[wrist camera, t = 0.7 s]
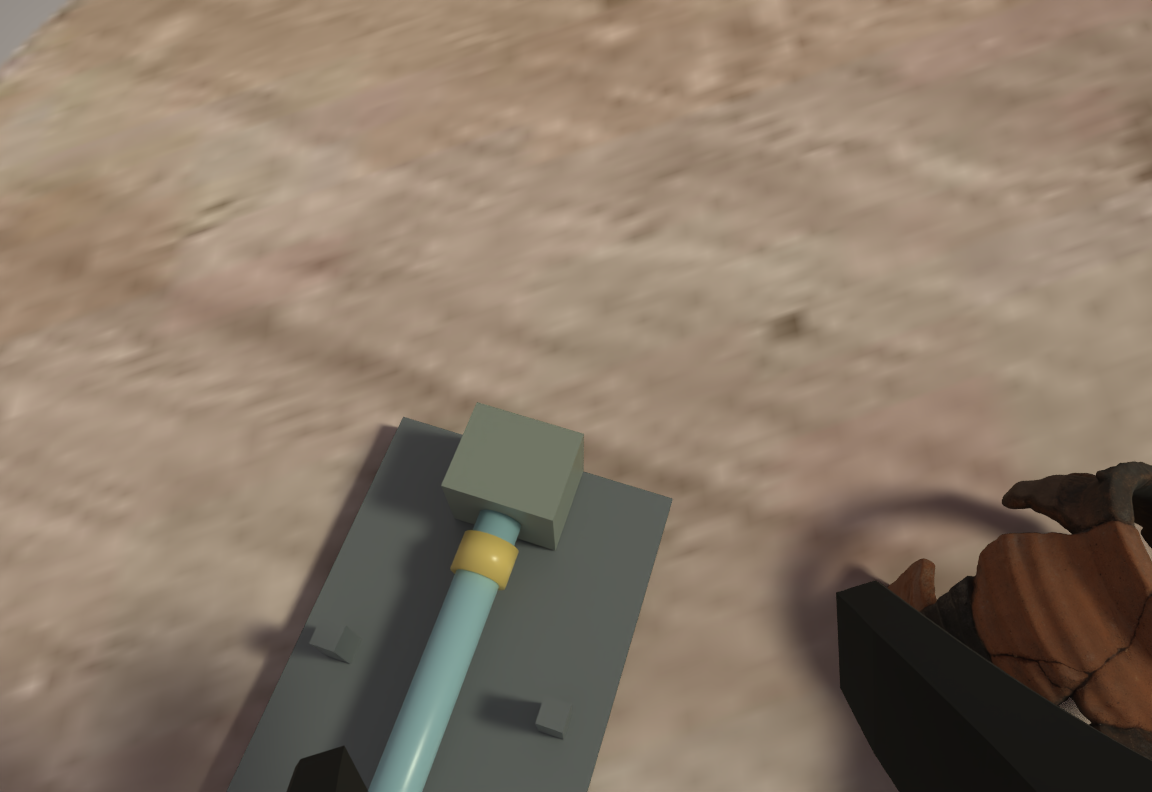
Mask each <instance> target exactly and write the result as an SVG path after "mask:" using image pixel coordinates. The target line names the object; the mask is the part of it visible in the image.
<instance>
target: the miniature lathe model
mask: <svg viewBox="0 0 1152 792" xmlns="http://www.w3.org/2000/svg"><path fill="white" fill-rule="evenodd" d="M583 470H584V434H582V433H579V432H576V431H572V430H569V429H566V428H562V427H559V426H555V425H552V424H549V423H545V422H542V421H539V420H535V419H532V418H528V417H525V416H522V415H518V414H515V413H512V412H508V411H505V410H502V409H498V408H495V407H491V406H488V405H485V404H481V403H478V402H477V403H476V406H475V408H474V410H473V413H472V415H471V417H470V420H469V422H468V424H467V427H466V429H465V431H464V434H463V435H461V434H458V433H455V432H452V431H448V430H445V429H442V428H438V427H435V426H432V425H429V424H425V423H422V422H419V421H415V420H412V419H409V418H405V417H403V418H402V421H401V423H400V425H399V427H398V429H397V431H396V433H395V435H394V437H393V440H392V442H391V444H390V446H389V448H388V450H387V452H386V454H385V457H384V459H383V461H382V463H381V465H380V467H379V469H378V471H377V474H376V476H375V478H374V480H373V482H372V484H371V486H370V488H369V490H368V493H367V495H366V497H365V499H364V501H363V503H362V505H361V507H360V510H359V512H358V514H357V516H356V518H355V520H354V522H353V524H352V527H351V529H350V531H349V533H348V535H347V537H346V539H345V541H344V543H343V546H342V548H341V550H340V552H339V554H338V556H337V558H336V560H335V563H334V565H333V567H332V569H331V571H330V573H329V575H328V577H327V580H326V582H325V584H324V586H323V588H322V590H321V592H320V594H319V596H318V599H317V601H316V603H315V605H314V607H313V609H312V611H311V613H310V616H309V618H308V620H307V622H306V624H305V626H304V628H303V630H302V632H301V635H300V637H299V639H298V641H297V643H296V645H295V647H294V649H293V652H292V654H291V656H290V658H289V660H288V662H287V664H286V666H285V669H284V671H283V673H282V675H281V677H280V679H279V681H278V683H277V685H276V688H275V690H274V692H273V694H272V696H271V698H270V700H269V702H268V705H267V707H266V709H265V711H264V713H263V715H262V717H261V719H260V722H259V724H258V726H257V728H256V730H255V732H254V734H253V736H252V738H251V741H250V743H249V745H248V747H247V749H246V751H245V753H244V755H243V758H242V760H241V762H240V764H239V766H238V768H237V770H236V772H235V775H234V777H233V779H232V781H231V783H230V785H229V787H228V789H227V791H226V792H286V791H287V789H288V786H289V783H290V780H291V777H292V775H293V772H294V769H295V766H296V765H297V763H298V762H299V760H300V759H302V758H305V757H308V756H312V755H315V754H318V753H321V752H325V751H328V750H331V749H334V748H337V747H341V746H345V748H346V749H347V751H348V753H349V755H350V757H351V759H352V761H353V763H354V765H355V767H356V769H357V770H358V772H359V774H360V776H361V778H362V780H363V782H364V784H365V786H366V788H367V790H368V792H587V791H588V788H589V784H590V781H591V777H592V774H593V770H594V767H595V764H596V760H597V757H598V753H599V750H600V746H601V743H602V740H603V736H604V733H605V729H606V726H607V722H608V719H609V716H610V712H611V709H612V705H613V702H614V698H615V695H616V692H617V688H618V685H619V681H620V678H621V674H622V671H623V668H624V664H625V661H626V657H627V654H628V650H629V647H630V644H631V640H632V637H633V633H634V630H635V626H636V623H637V620H638V616H639V613H640V609H641V606H642V602H643V599H644V596H645V592H646V589H647V585H648V582H649V578H650V575H651V572H652V568H653V565H654V561H655V558H656V554H657V551H658V548H659V544H660V541H661V537H662V534H663V530H664V527H665V524H666V520H667V517H668V513H669V510H670V506H671V503H672V498H669V497H665V496H662V495H659V494H656V493H652V492H649V491H646V490H642V489H639V488H636V487H633V486H629V485H626V484H623V483H619V482H616V481H613V480H610V479H606V478H603V477H600V476H596V475H593V474H590V473H587V472H583Z"/></svg>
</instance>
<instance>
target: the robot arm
mask: <svg viewBox="0 0 1152 792" xmlns="http://www.w3.org/2000/svg"><path fill="white" fill-rule="evenodd" d="M836 599H837V622H838V645H839V667H840V688H841V690H842V692H843V694H844V696H845V698H846V700H847V702H848V704H849V706H850V708H851V710H852V712H853V714H854V716H855V718H856V720H857V722H858V724H859V726H860V727H861V729H862V731H863V733H864V735H865V737H866V739H867V741H868V742H869V744H870V746H871V748H872V750H873V752H874V754H875V755H876V757H877V758H878V760H879V762H880V763H881V765H882V766H883V768H884V769H885V771H886V772H887V774H888V775H889V777H890V778H891V780H892V781H893V783H894V784H895V786H896V787H897V789H898V791H899V792H1152V760H1150V759H1148V758H1146V757H1144V756H1143V755H1141V754H1139V753H1137V752H1135V751H1133V750H1132V749H1130V748H1128V747H1126V746H1125V745H1123V744H1121V743H1119V742H1117V741H1116V740H1114V739H1112V738H1110V737H1109V736H1107V735H1105V734H1104V733H1102V732H1100V731H1098V730H1097V729H1095V728H1093V727H1092V726H1090V725H1088V724H1087V723H1085V722H1083V721H1082V720H1080V719H1078V718H1077V717H1075V716H1073V715H1072V714H1070V713H1069V712H1067V711H1065V710H1064V709H1062V708H1060V707H1059V706H1057V705H1055V704H1054V703H1052V702H1051V701H1049V700H1047V699H1046V698H1044V697H1043V696H1041V695H1040V694H1038V693H1036V692H1035V691H1033V690H1032V689H1030V688H1029V687H1027V686H1026V685H1024V684H1023V683H1021V682H1020V681H1018V680H1017V679H1015V678H1014V677H1012V676H1011V675H1009V674H1008V673H1006V672H1005V671H1003V670H1002V669H1000V668H999V667H997V666H996V665H994V664H993V663H991V662H990V661H988V660H987V659H985V658H984V657H982V656H981V655H979V654H978V653H976V652H975V651H974V650H972V649H971V648H969V647H968V646H966V645H965V644H963V643H962V642H961V641H959V640H958V639H956V638H955V637H954V636H952V635H951V634H949V633H948V632H947V631H945V630H944V629H942V628H941V627H940V626H938V625H937V624H936V623H934V622H933V621H931V620H930V619H929V618H927V617H926V616H925V615H923V614H922V613H920V612H919V611H918V610H916V609H915V608H914V607H912V606H911V605H910V604H908V603H907V602H906V601H904V600H903V599H902V598H900V597H899V596H897V595H896V594H895V593H893V592H892V591H891V590H889V589H888V588H887V587H885V586H884V585H883V584H881V583H879V582H877V581H872V582H869V583H866V584H863V585H859V586H856V587H853V588H850V589H847V590H843V591H840V592H837V593H836ZM286 792H368V790H367V788H366V786H365V784H364V782H363V780H362V778H361V776H360V774H359V772H358V770H357V769H356V767H355V765H354V763H353V761H352V759H351V757H350V755H349V753H348V751H347V749H346V748H345V746H341V747H337V748H334V749H331V750H328V751H325V752H321V753H318V754H315V755H312V756H308V757H305V758H302V759H300V760H299V762H298V763H297V765H296V766H295V769H294V772H293V775H292V777H291V780H290V783H289V786H288V789H287V791H286Z"/></svg>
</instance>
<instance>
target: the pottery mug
mask: <svg viewBox="0 0 1152 792" xmlns="http://www.w3.org/2000/svg"><path fill="white" fill-rule="evenodd" d="M1002 504H1003V505H1004V506H1005V507H1007V508H1010V509H1026V508H1031V509H1033V510H1034V511H1035V512H1038V513H1041V514H1044V515H1046V516H1048V517H1050V518H1051V519H1053V520H1055V521H1057V522H1058V523H1059V524H1060V525H1061V526H1063V527H1064V528H1065V529H1067V530H1068V531H1069V532H1070V533H1071V534H1073V535H1067V534H1062V533H1055V532H1051V533H1047V534H1041V533H1009V534H1002V535H1000V536H999V537H998V539H997V540H995V541H993V542H992V543H990V544H988V545H987V547H986V548H985V549H984V550H983V551H982V552H981V553H980V556H979V561H978V565H977V573H976V576H974V577H973V576H967V577H965V578H964V579H963V580H962V581H960V582H958V583H957V584H955V585H954V586H953V587H952V588H951V589H950V590H949V592H947V593H946V594H944V595H942V596H941V597H939V598H938V599H937V600H936V596H935V587H934V575H935V565H934V563H933V562H931V561H929V560H927V559H920V560H918V561H916V562H914V563H913V564H912V565H910V566H909V568H908V569H907V570H906V571H905V572H904V573H903V574H901V575H900V576H899V578H898V579H897V580H896V581H895V582H894V583H892V584H891V585H889V586H888V589H889V590H891V591H892V592H893V593H895V594H896V595H897V596H899V597H900V598H902V599H903V600H904V601H906V602H907V603H908V604H910V605H911V606H912V607H914V608H915V609H916V610H918V611H919V612H920V613H922V614H923V615H925V616H926V617H927V618H929V619H930V620H931V621H933V622H934V623H936V624H937V625H938V626H940V627H941V628H942V629H944V630H945V631H947V632H948V633H949V634H951V635H952V636H954V637H955V638H956V639H958V640H959V641H961V642H962V643H963V644H965V645H966V646H968V647H969V648H971V649H972V650H974V651H975V652H976V653H978V654H979V655H981V656H982V657H984V658H985V659H987V660H988V661H990V662H991V663H993V664H994V665H996V666H997V667H999V668H1000V669H1002V670H1003V671H1005V672H1006V673H1008V674H1009V675H1011V676H1012V677H1014V678H1015V679H1017V680H1018V681H1020V682H1021V683H1023V684H1024V685H1026V686H1027V687H1029V688H1030V689H1032V690H1033V691H1035V692H1036V693H1038V694H1040V695H1041V696H1043V697H1044V698H1046V699H1047V700H1049V701H1051V702H1052V703H1054V704H1055V705H1057V706H1059V705H1060V704H1061V703H1062V702H1064V701H1066V700H1067V699H1068V698H1069V697H1071V698H1072V700H1073V701H1074V702H1075V704H1076V706H1077V707H1078V709H1079V711H1080V712H1081V713H1082V714H1083V715H1084V716H1085V717H1086V718H1087V719H1088V720H1090V721H1091V724H1089V725H1090V726H1092V727H1093V728H1095V729H1097V730H1098V731H1100V732H1102V733H1104V734H1105V735H1107V736H1109V737H1110V738H1112V739H1114V740H1116V741H1117V742H1119V743H1121V744H1123V745H1125V746H1126V747H1128V748H1130V749H1132V750H1133V751H1135V752H1137V753H1139V754H1141V755H1143V756H1144V757H1146V758H1148V759H1150V760H1152V561H1151V559H1150V557H1149V555H1148V553H1147V551H1146V549H1145V547H1144V544H1143V542H1142V540H1141V538H1140V534H1139V532H1138V530H1137V529H1136V527H1135V526H1134V523H1137V524H1139V525H1140V526H1142V527H1143V529H1142V530H1141V535H1142V536H1143V538H1144V540H1145V541H1146V542H1147V543H1148V545H1149V546H1150V547H1151V548H1152V465H1149V464H1145V463H1143V462H1127V463H1119V464H1118V465H1117V466H1114V467H1110V468H1108V469H1105V470H1101V471H1097V473H1096V475H1093V474H1089V473H1071V474H1068V475H1052V476H1048V477H1046V478H1043V479H1041V480H1034V481H1021V482H1018V483H1016V484H1015V485H1014V486H1013V487H1012V488H1011V489H1010V490H1009V491H1008V492H1007V493H1006V494H1005V495H1004V496H1003V499H1002Z"/></svg>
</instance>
